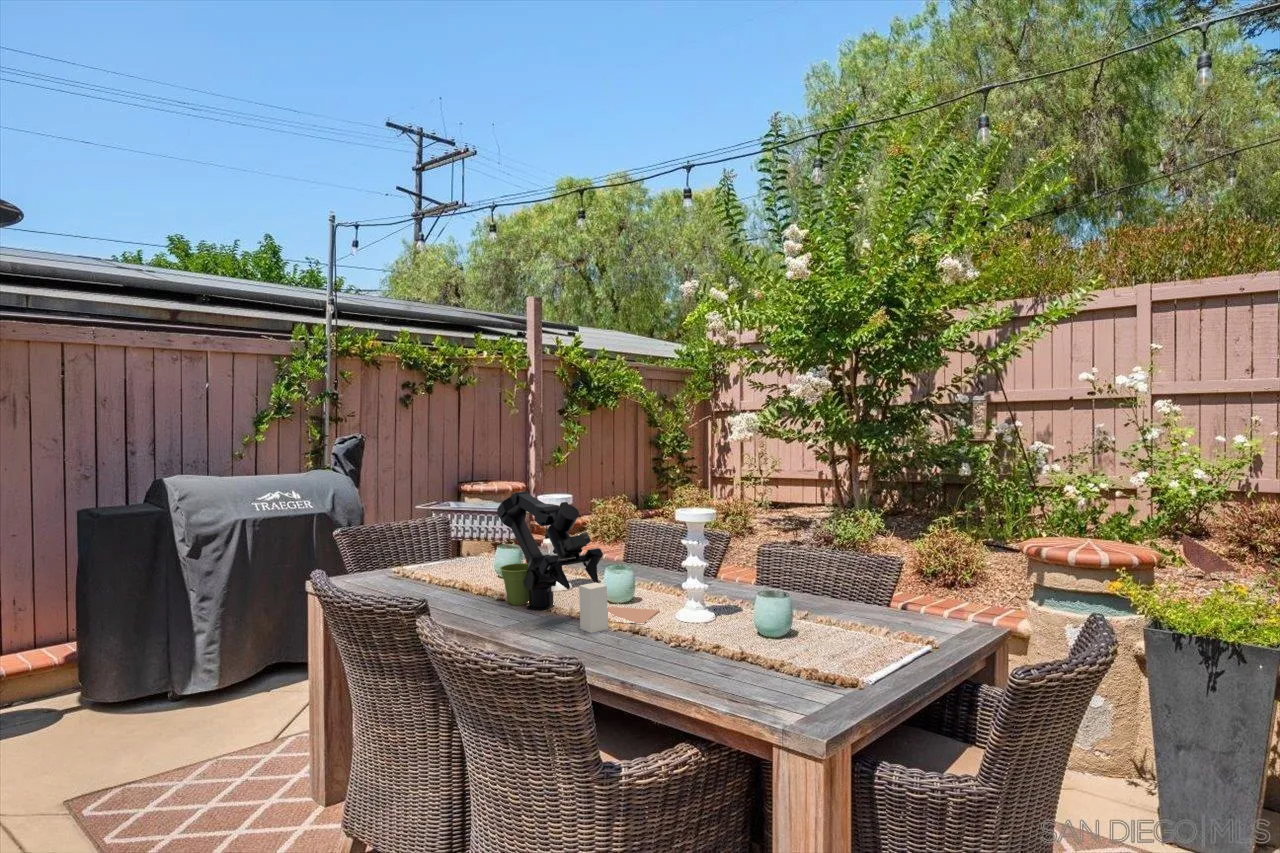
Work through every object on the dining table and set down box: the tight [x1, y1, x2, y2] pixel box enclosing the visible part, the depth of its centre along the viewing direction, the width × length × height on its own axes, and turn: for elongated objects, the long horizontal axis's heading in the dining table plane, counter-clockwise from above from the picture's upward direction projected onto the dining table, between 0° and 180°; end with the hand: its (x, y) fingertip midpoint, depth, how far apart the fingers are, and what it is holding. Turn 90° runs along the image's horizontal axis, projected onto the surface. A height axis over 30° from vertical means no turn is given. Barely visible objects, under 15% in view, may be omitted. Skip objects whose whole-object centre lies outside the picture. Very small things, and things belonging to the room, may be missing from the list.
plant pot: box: [499, 562, 529, 606], centre depth 248 cm, size 12×12×11 cm
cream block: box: [578, 582, 609, 634], centre depth 218 cm, size 6×6×12 cm
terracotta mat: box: [607, 606, 661, 624], centre depth 230 cm, size 16×14×1 cm
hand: (583, 585), depth 222 cm, fingers open, 9 cm apart
